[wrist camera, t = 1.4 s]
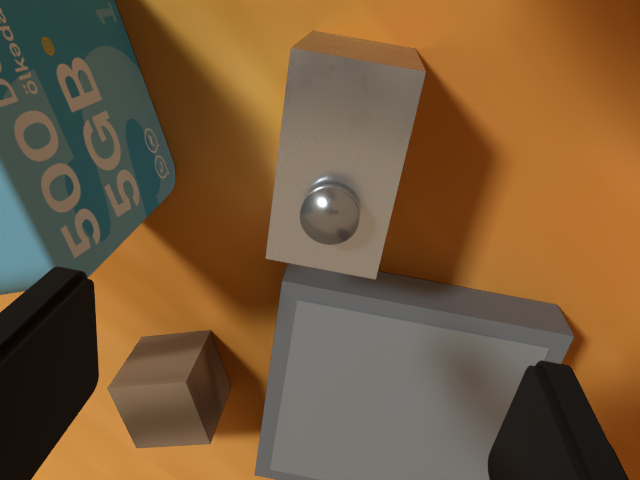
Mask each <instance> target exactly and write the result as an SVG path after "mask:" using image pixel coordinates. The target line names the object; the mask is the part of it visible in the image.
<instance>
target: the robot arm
mask: <svg viewBox="0 0 640 480" xmlns="http://www.w3.org/2000/svg"><path fill="white" fill-rule="evenodd" d="M98 378H99V370H98V351H97V332H96V313H95V293H94V283H93V281H92V280H90V279H87V275H86V273H85V272H83V271H79V270H74V269H69V268H64V267H54V268H52V269H51V270H50V271H49V272H48V273H46V274H45V275H44V276H43V277H42V278H40V279H39V280H38V281H37V282H36V283H35V284H33V285H32V286H31V287H30V288H29V289H28V290H26V291H25V292H24V293H23V294H22V295H20V296H19V297H18V298H17V299H16V300H15V301H13V302H12V303H11V304H10V305H9V306H8V307H6V308H5V309H4V310H3V311H2V312H0V480H31V479H32V477H33V476H34V475H35V473H36V472H37V470H38V469H39V468H40V466H41V465H42V463H43V462H44V461H45V459H46V458H47V456H48V455H49V454H50V452H51V451H52V449H53V448H54V447H55V445H56V444H57V442H58V441H59V440H60V438H61V437H62V435H63V434H64V433H65V431H66V430H67V428H68V427H69V426H70V424H71V423H72V421H73V420H74V419H75V417H76V416H77V414H78V413H79V412H80V410H81V409H82V407H83V406H84V405H85V403H86V402H87V400H88V399H89V398H90V396H91V395H92V393H93V392H94V390H95V388H96V386H97V382H98ZM488 474H489V479H490V480H629V479H628V477H627V475H626V473H625V471H624V469H623V467H622V465H621V463H620V461H619V459H618V457H617V455H616V453H615V451H614V449H613V448H612V446H611V445H610V443H609V442H608V440H607V438H606V436H605V434H604V432H603V430H602V428H601V426H600V424H599V422H598V420H597V418H596V416H595V414H594V412H593V410H592V408H591V406H590V404H589V402H588V400H587V398H586V396H585V394H584V392H583V390H582V388H581V386H580V384H579V382H578V380H577V378H576V376H575V374H574V372H573V370H572V368H571V367H570V366H568V365H564V364H558V363H553V362H548V361H543V360H541V361H539V362H537V363H536V365H535V366H532V365H530V366H528V367H527V369H526V370H525V373H524V375H523V377H522V380H521V382H520V384H519V386H518V389H517V391H516V393H515V396H514V398H513V400H512V402H511V405H510V407H509V409H508V412H507V414H506V416H505V419H504V421H503V423H502V425H501V428H500V430H499V432H498V435H497V437H496V439H495V441H494V444H493V446H492V448H491V451H490V453H489V457H488Z"/></svg>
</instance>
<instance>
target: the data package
mask: <svg viewBox="0 0 640 480" xmlns="http://www.w3.org/2000/svg"><path fill="white" fill-rule="evenodd" d="M174 184H175V168H174V163H173V159H172V156H171V153H170V151H169V148H168V145H167V142H166V140H165V137H164V134H163V131H162V129H161V126H160V123H159V120H158V118H157V115H156V112H155V109H154V107H153V104H152V101H151V98H150V96H149V93H148V90H147V87H146V85H145V82H144V79H143V76H142V74H141V71H140V68H139V65H138V63H137V60H136V57H135V54H134V52H133V49H132V46H131V43H130V41H129V38H128V35H127V32H126V30H125V27H124V24H123V21H122V19H121V16H120V13H119V10H118V8H117V5H116V2H115V0H0V295H2V294H9V293H15V292H22V291H26V290H28V289H29V288H30V287H31V286H32V285H33V284H35V283H36V282H37V281H38V280H39V279H40V278H42V277H43V276H44V275H45V274H46V273H48V272H49V271H50V270H51V269H52V268H54V267H64V268H69V269H74V270H79V271H83V272H85V273H86V275H87V278H88V277H89V276H90V275H91V274H92V273H93V272H94V271H95V270H96V269H97V268H98V267H99V266H100V265H101V264H102V263H103V262H104V261H105V260H106V259H107V258H108V257H109V256H110V255H111V254H112V253H113V252H114V251H115V250H116V249H117V248H118V246H119V245H120V244H121V243H122V242H123V241H124V240H125V239H126V238H127V237H128V236H129V235H130V234H131V233H132V232H133V231H134V230H135V229H136V228H137V227H138V226H139V225H140V224H141V223H142V222H143V221H144V220H145V219H146V218H147V217H148V216H149V215H150V214H151V213H152V212H153V211H154V210H155V209H156V208H157V207H158V206H159V205H160V204H161V203H162V202H163V201H164V200H165V199H166V198H167V197H168V195H169V194H170V193H171V192H172V190H173V188H174Z"/></svg>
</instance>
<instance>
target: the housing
mask: <svg viewBox="0 0 640 480" xmlns="http://www.w3.org/2000/svg"><path fill="white" fill-rule="evenodd" d="M425 74H426V70H425V68H424V66H423V64H422V62H421V60H420V58H419V56H418V53H417V51H416V49H415V48H410V47H404V46H398V45H393V44H387V43H382V42H376V41H370V40H365V39H359V38H353V37H348V36H342V35H337V34H331V33H325V32H320V31H314V30H313V31H312V32H310V33H309V34H308V35H307V36H305V37H304V38H303V39H301V40H300V41H299V42H298V43H296V44H295V45H294V46H292V47H291V51H290V59H289V67H288V75H287V84H286V92H285V100H284V109H283V117H282V125H281V133H280V142H279V150H278V158H277V167H276V175H275V183H274V191H273V200H272V208H271V216H270V224H269V233H268V241H267V249H266V258H265V259H270V260H275V261H280V262H286V263H291V264H296V265H302V266H307V267H312V268H317V269H323V270H328V271H333V272H339V273H344V274H349V275H354V276H360V277H365V278H370V279H376V277H377V272H378V268H379V264H380V260H381V256H382V252H383V248H384V244H385V239H386V235H387V231H388V227H389V223H390V219H391V215H392V211H393V206H394V202H395V198H396V194H397V190H398V186H399V182H400V178H401V173H402V169H403V165H404V161H405V157H406V153H407V149H408V145H409V140H410V136H411V132H412V128H413V124H414V120H415V116H416V112H417V107H418V103H419V99H420V95H421V91H422V87H423V83H424V79H425Z"/></svg>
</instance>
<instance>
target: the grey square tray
mask: <svg viewBox="0 0 640 480" xmlns="http://www.w3.org/2000/svg"><path fill="white" fill-rule="evenodd" d="M573 338H574V335H573V333H572V331H571V329H570V327H569V325H568V324H567V322H566V320H565V318H564V316H563V314H562V312H561V311H560V309H559V307H558V305H555V304H550V303H544V302H539V301H534V300H529V299H523V298H518V297H513V296H507V295H502V294H497V293H491V292H486V291H481V290H476V289H470V288H465V287H460V286H454V285H449V284H444V283H438V282H433V281H428V280H423V279H417V278H412V277H407V276H401V275H396V274H391V273H385V272H380V271H378V272H377V277H376V279H370V278H365V277H360V276H354V275H349V274H344V273H339V272H333V271H328V270H323V269H317V268H312V267H307V266H302V265H296V264H291V263H288V264H287V267H286V270H285V274H284V277H283V280H282V285H281V292H280V299H279V306H278V313H277V320H276V327H275V334H274V341H273V348H272V355H271V363H270V370H269V377H268V384H267V391H266V398H265V405H264V412H263V419H262V426H261V433H260V440H259V447H258V454H257V461H256V468H255V475H256V476H261V477H266V478H271V479H276V480H490V479H489V474H488V457H489V453H490V451H491V448H492V446H493V444H494V441H495V439H496V437H497V435H498V432H499V430H500V428H501V425H502V423H503V421H504V419H505V416H506V414H507V412H508V409H509V407H510V405H511V402H512V400H513V398H514V396H515V393H516V391H517V389H518V386H519V384H520V382H521V380H522V377H523V375H524V373H525V370H526V369H527V367H528V366H530V365H532V366H535V365H536V363H537V362H539V361H541V360H543V361H548V362H553V363H558V364H561V363H562V361H563V359H564V357H565V355H566V353H567V351H568V349H569V347H570V345H571V342H572V340H573Z"/></svg>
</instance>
